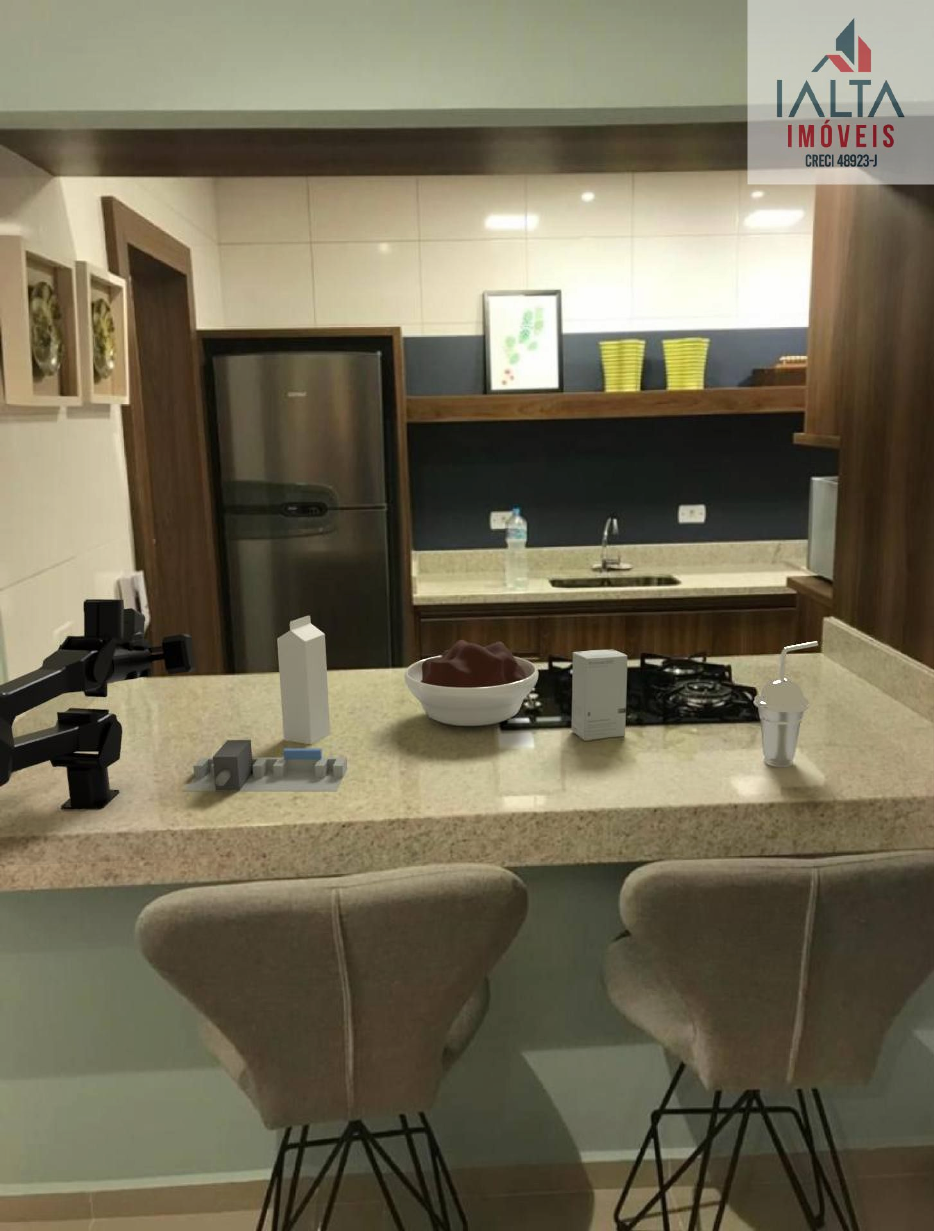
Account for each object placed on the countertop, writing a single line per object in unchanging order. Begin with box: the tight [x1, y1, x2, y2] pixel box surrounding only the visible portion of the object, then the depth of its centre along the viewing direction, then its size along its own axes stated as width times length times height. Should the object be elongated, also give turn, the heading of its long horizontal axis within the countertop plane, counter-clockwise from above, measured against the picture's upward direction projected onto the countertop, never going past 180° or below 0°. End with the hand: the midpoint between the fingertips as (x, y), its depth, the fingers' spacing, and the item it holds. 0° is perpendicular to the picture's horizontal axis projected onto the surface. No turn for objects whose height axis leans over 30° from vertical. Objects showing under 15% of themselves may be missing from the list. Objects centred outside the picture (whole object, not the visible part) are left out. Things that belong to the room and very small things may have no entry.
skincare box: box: [571, 649, 628, 742], centre depth 166 cm, size 8×6×15 cm
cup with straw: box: [753, 640, 819, 768], centre depth 150 cm, size 8×9×20 cm
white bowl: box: [403, 639, 539, 727], centre depth 176 cm, size 25×25×15 cm
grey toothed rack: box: [182, 747, 348, 792], centre depth 149 cm, size 9×24×4 cm, turn 87°
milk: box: [277, 615, 331, 745], centre depth 167 cm, size 6×6×22 cm
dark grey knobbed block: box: [212, 739, 253, 790], centre depth 147 cm, size 10×4×6 cm, turn 177°
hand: (165, 656), depth 164 cm, fingers open, 9 cm apart
